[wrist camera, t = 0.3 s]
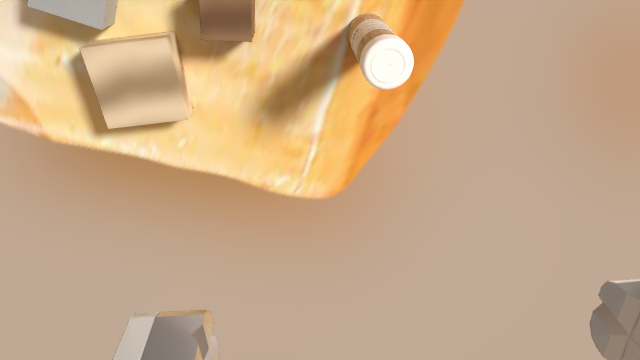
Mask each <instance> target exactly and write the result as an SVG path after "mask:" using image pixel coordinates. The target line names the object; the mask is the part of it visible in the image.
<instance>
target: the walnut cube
mask: <svg viewBox="0 0 640 360" xmlns="http://www.w3.org/2000/svg"><path fill="white" fill-rule="evenodd" d="M199 8H200V24H201V40H222V41H242V42H252V39H253V36H254V33H255V0H199Z"/></svg>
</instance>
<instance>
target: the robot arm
mask: <svg viewBox="0 0 640 360" xmlns="http://www.w3.org/2000/svg"><path fill="white" fill-rule="evenodd" d="M599 297H600V299H601V300H602V302H603V303H602V304H601V305H600V306H598V307H597V308H596V309H595V310H594V311H593V313H592V317H591V320H590V329H591V336H592V339H593V341H594V343H595V346H596V347H597V348H598V350H599V352H600V353H601V355H602V356H603V357H604V358H606V359H607V360H640V278H638V279H625V280H613V281H607V282H606V283H604V284H603V285H602V287H601V289H600V292H599ZM213 325H214V322H213V318H212V314H211V311H209V310H190V311H168V312H159V313H137V314H134V315H133V316H132V317H131V318H130V320H129V321H128V323H127V326H126V328H125V330H124V333H123V336H122V338H121V340H120V343H119V345H118V347H117V350H116V352H115V354H114V357H113V359H112V360H220V352H219V344H218V340H217V338H216V337H215V336H214V335H212V330H213Z"/></svg>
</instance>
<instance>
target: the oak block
mask: <svg viewBox="0 0 640 360" xmlns="http://www.w3.org/2000/svg"><path fill="white" fill-rule="evenodd" d="M80 51H81V54H82V57H83V59H84V62H85V65H86V68H87V71H88V73H89V76H90V79H91V82H92V85H93V88H94V90H95V93H96V96H97V99H98V102H99V104H100V107H101V110H102V113H103V116H104V118H105V121H106V124H107V127H108V129H112V128H120V127H129V126H138V125H146V124H155V123H164V122H172V121H181V120H188V118H189V116H190V114H191V112H192V111H193V109H194V107H193V103H192V99H191V95H190V91H189V87H188V83H187V79H186V75H185V71H184V67H183V63H182V59H181V55H180V51H179V47H178V43H177V39H176V35H175V31H171V32H162V33H153V34H145V35H136V36H127V37H119V38H110V39H101V40H93V41H91V42H90V43H88V44H86V45H84V46H83V47H81V48H80Z"/></svg>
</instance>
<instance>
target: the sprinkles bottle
mask: <svg viewBox="0 0 640 360" xmlns="http://www.w3.org/2000/svg"><path fill="white" fill-rule="evenodd" d="M348 41H349V44H350V46H351V47H352V50H353V52H354V54H355V56H356V58H357V60H358V62H359V64H360V67H361V70H362V73H363V75H364V76H365V78H366V79H367V81H368V82H369V83H370V84H371V85H373V86H374V87H376V88H379V89H393V88H396V87H398V86H400V85H401V84H403V83H404V82H405V81H406V80H407V79H408V77H409V76H410V74H411V72H412V69H413V65H414V59H413V54H412V51H411V49H410V48H409V46H408V45H407V44H406V43H405V42H404V41H403V40H402V39H401V38H399V37H398V36H397V35H396V34H395V33H394V32H393V31H392V30H391V29H390V28H389V27H388V26H387V25H386V24H385V23H384V21H383V20H382V19H381V18H380V17H379V16H377V15H374V14H363V15H360V16H358V17H357V18H356V19H354V20H353V22H352V23H351V25H350V27H349V30H348Z"/></svg>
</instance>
